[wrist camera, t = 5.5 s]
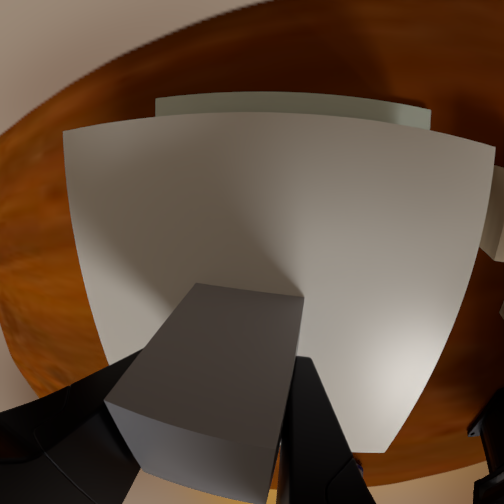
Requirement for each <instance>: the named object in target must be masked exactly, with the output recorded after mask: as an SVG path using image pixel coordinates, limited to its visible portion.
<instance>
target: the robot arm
mask: <svg viewBox="0 0 504 504" xmlns="http://www.w3.org/2000/svg"><path fill="white" fill-rule="evenodd" d="M142 350H143V348H142V349H140V350H138V351H137V352H135V353H133V354H131V355H129V356H127V357H125V358H123V359H121V360H119V361H117V362H115V363H113V364H111V365H109V366H107V367H105V368H103V369H101V370H99V371H97V372H95V373H93V374H91V375H89V376H87V377H85V378H83V379H81V380H79V381H77V382H75V383H73V384H71V385H70V386H67V387H64V388H62V389H60V390H58V391H56V392H54V393H52V394H49V395H47V396H45V397H42V398H40V399H37V400H35V401H32V402H29V403H27V404H24V405H21V406H18V407H15V408H12V409H9V410H6V411H3V412H0V504H122V503H123V501H124V499H125V497H126V495H127V493H128V491H129V490H130V488H131V486H132V484H133V482H134V480H135V478H136V476H137V474H138V472H139V470H140V468H141V467H140V465H139V463H138V462H137V460H136V459H135V457H134V455H133V454H132V452H131V450H130V448H129V447H128V445H127V443H126V442H125V440H124V438H123V436H122V434H121V433H120V431H119V429H118V427H117V425H116V423H115V421H114V420H113V418H112V416H111V414H110V412H109V410H108V408H107V406H106V404H105V402H104V399H105V398H106V396H107V395H108V394H109V392H110V391H111V390H112V389H113V387H114V386H115V385H116V383H117V382H118V381H119V379H120V378H121V377H122V375H123V374H124V373H125V372H126V370H127V369H128V368H129V366H130V365H131V364H132V363H133V361H134V360H135V359H136V357H137V356H138V355H139V354H140V352H141V351H142ZM467 434H468V437H473V436H479V435H480V436H481V440H482V444H483V448H484V452H485V456H486V460H487V465H488V469H489V475H487V476H485V477H484V478H482V479H479V480H477V481H475V482H474V491H473V504H504V388H502V389H500V390H498V391H497V392H496V394H495V395H494V397H493V398H492V400H491V401H490V403H489V404H488V405H487V407H486V408H485V410H484V411H483V412H482V414H481V415H480V416H479V418H478V419H477V420H476V422H475V423H474V424H473V425H472V427H471V428H470V429H469V431H468V432H467ZM352 458H353V454H352V452H351V449H350V447H349V445H348V442H347V440H346V438H345V435H344V433H343V431H342V428H341V426H340V423H339V421H338V419H337V416H336V414H335V412H334V409H333V407H332V405H331V402H330V400H329V398H328V395H327V393H326V391H325V388H324V386H323V384H322V381H321V379H320V377H319V374H318V372H317V370H316V367H315V365H314V363H313V360H312V359H311V358H310V357H305V356H296V359H295V365H294V370H293V375H292V380H291V385H290V390H289V395H288V402H287V408H286V414H285V420H284V426H283V431H282V437H281V449H280V462H279V475H278V487H277V499H276V504H376V503H375V501H374V499H373V497H372V495H371V494H370V492H369V490H368V488H367V486H366V484H365V481H364V479H363V477H362V475H361V473H360V471H359V468H358V466H357V463H356V461H355V459H352Z"/></svg>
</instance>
